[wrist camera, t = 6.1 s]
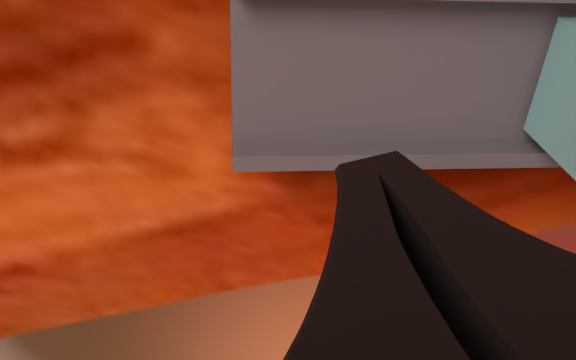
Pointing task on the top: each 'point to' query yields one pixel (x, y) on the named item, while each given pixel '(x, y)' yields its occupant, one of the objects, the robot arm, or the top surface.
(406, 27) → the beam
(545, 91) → the rider
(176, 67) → the top surface
